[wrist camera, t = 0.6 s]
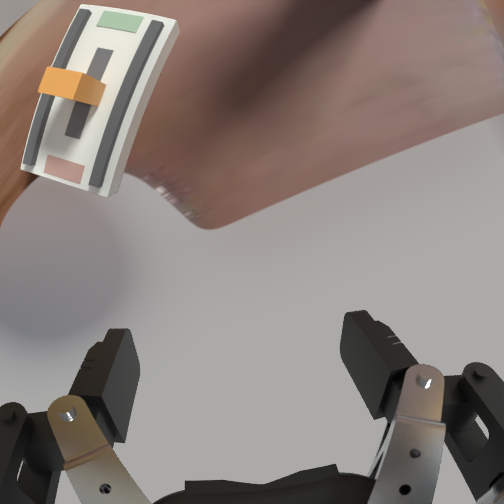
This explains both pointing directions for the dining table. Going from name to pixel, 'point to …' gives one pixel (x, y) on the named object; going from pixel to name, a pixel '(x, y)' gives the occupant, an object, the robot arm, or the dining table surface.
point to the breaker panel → (96, 117)
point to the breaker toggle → (72, 86)
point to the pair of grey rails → (119, 104)
